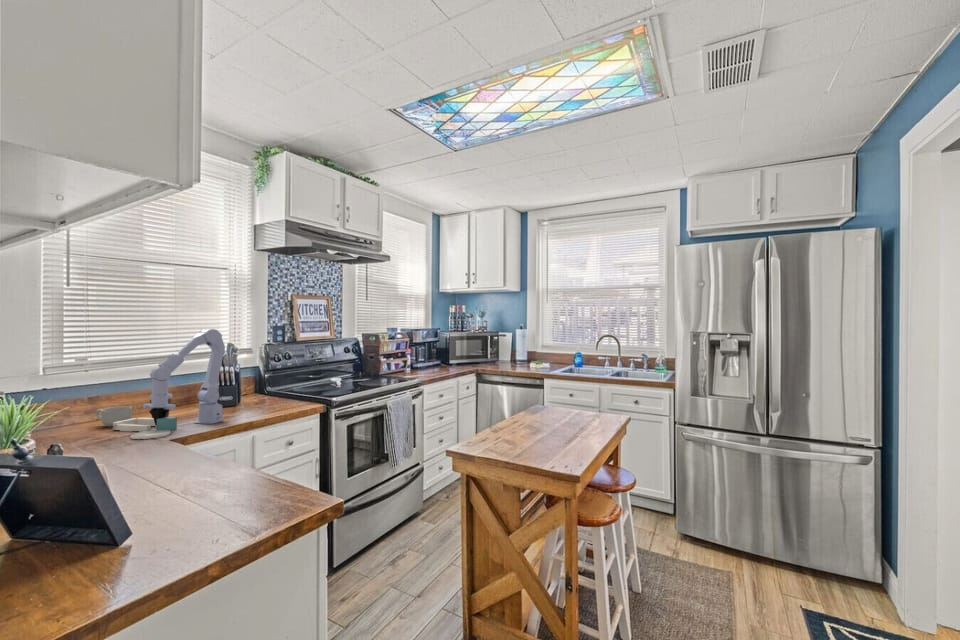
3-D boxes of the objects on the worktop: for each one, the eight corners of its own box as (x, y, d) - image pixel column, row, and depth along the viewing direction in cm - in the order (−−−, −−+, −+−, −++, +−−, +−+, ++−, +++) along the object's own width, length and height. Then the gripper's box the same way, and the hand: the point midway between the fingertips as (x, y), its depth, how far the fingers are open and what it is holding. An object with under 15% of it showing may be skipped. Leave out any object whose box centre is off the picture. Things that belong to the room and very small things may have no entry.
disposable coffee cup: (142, 420, 203) (143, 395, 204) (162, 416, 212) (163, 392, 213) (157, 421, 201) (158, 396, 201) (176, 418, 210) (177, 393, 210)
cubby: (169, 426, 190) (169, 418, 190) (146, 432, 179) (146, 423, 179) (137, 425, 193) (137, 417, 193) (112, 430, 182) (113, 422, 182)
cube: (176, 428, 186) (177, 417, 186) (166, 431, 181) (166, 419, 181) (166, 428, 187) (167, 416, 187) (156, 430, 182) (156, 419, 182)
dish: (178, 433, 178) (178, 430, 178) (149, 440, 165) (149, 438, 165) (151, 431, 180) (151, 429, 180) (121, 439, 167) (121, 436, 167)
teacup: (137, 423, 197) (138, 406, 197) (115, 428, 186) (116, 410, 186) (110, 422, 198) (111, 405, 198) (87, 427, 187) (87, 409, 188)
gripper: (136, 395, 182) (135, 426, 182) (166, 396, 180) (165, 428, 180) (152, 393, 189) (151, 423, 189) (180, 393, 187) (179, 424, 187)
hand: (158, 425), depth 185 cm, fingers closed
